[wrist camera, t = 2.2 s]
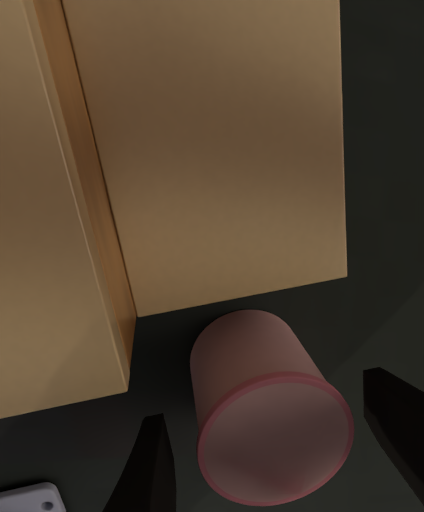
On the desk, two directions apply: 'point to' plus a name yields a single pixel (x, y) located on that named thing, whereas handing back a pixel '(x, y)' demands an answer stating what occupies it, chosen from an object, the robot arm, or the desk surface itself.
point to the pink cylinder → (264, 412)
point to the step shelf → (157, 174)
